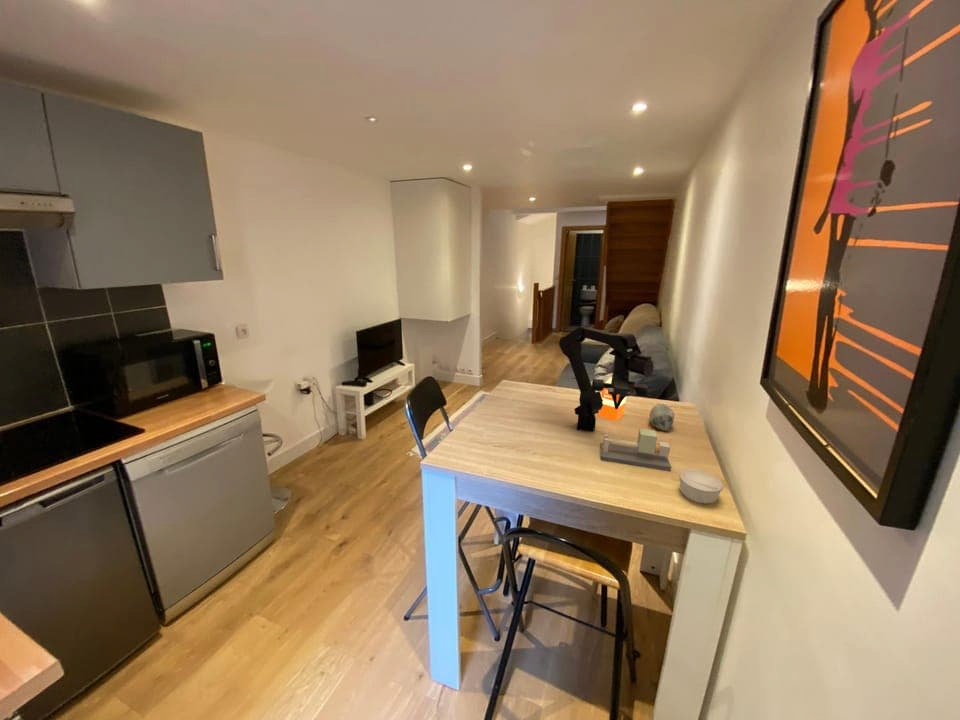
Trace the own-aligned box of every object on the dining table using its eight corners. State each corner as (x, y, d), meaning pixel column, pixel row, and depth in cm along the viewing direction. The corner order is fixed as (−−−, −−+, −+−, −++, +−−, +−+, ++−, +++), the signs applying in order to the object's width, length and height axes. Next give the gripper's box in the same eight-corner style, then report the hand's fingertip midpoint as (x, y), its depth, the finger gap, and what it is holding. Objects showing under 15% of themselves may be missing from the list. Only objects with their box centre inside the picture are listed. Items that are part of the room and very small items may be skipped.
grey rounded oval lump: (678, 428, 146) (669, 403, 148) (653, 434, 151) (644, 410, 152) (678, 423, 159) (669, 400, 160) (655, 429, 163) (646, 406, 164)
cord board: (600, 460, 129) (602, 442, 128) (599, 446, 139) (601, 429, 137) (670, 471, 124) (673, 452, 122) (664, 455, 133) (668, 438, 131)
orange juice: (598, 415, 164) (603, 372, 159) (606, 409, 171) (612, 367, 165) (616, 421, 159) (622, 376, 154) (624, 414, 166) (630, 371, 160)
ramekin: (688, 506, 107) (692, 490, 105) (669, 483, 118) (672, 468, 116) (728, 507, 107) (732, 491, 105) (705, 483, 118) (708, 468, 116)
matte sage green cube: (638, 451, 128) (641, 434, 126) (636, 445, 132) (639, 428, 130) (654, 454, 127) (657, 436, 125) (652, 447, 131) (655, 430, 129)
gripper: (594, 372, 130) (589, 414, 134) (652, 378, 125) (646, 421, 130) (594, 363, 140) (590, 402, 145) (648, 368, 135) (642, 408, 140)
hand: (616, 408), depth 139 cm, fingers closed
